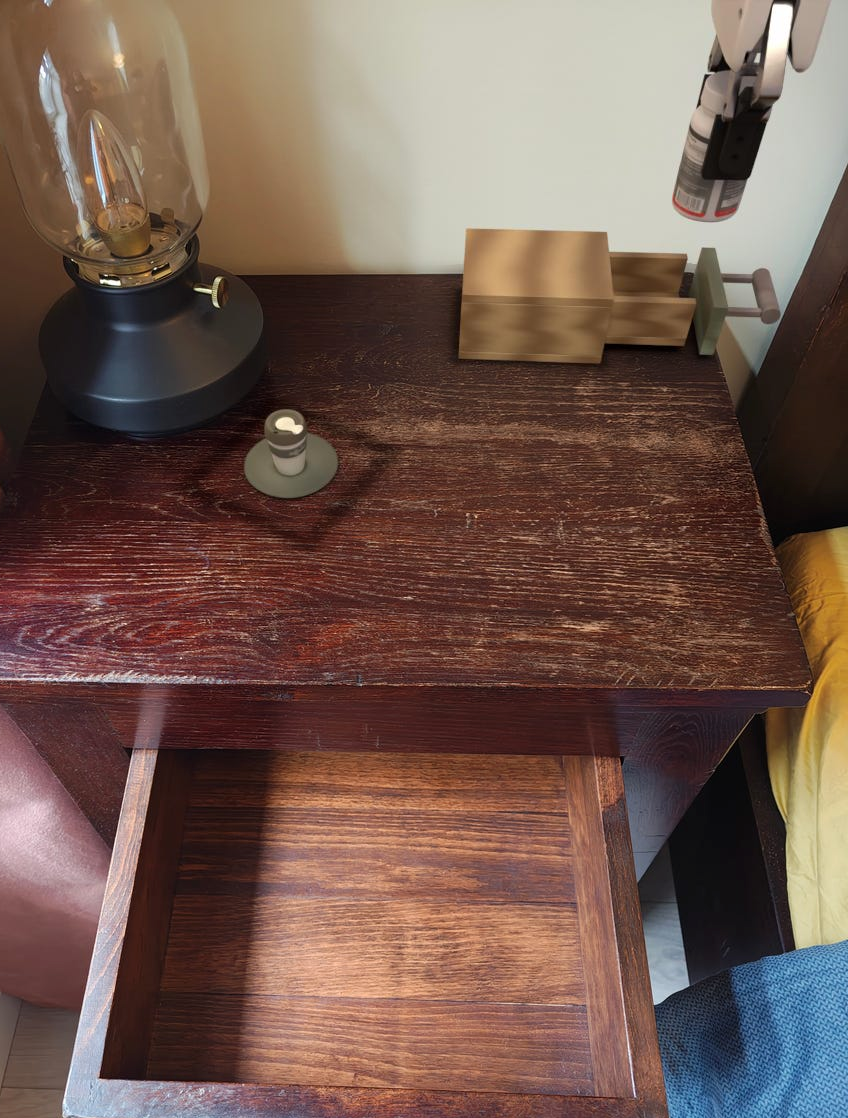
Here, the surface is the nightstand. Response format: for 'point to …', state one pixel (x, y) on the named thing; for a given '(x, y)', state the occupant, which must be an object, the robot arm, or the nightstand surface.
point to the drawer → (678, 299)
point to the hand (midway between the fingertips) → (719, 153)
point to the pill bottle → (691, 189)
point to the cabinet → (535, 295)
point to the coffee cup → (290, 458)
